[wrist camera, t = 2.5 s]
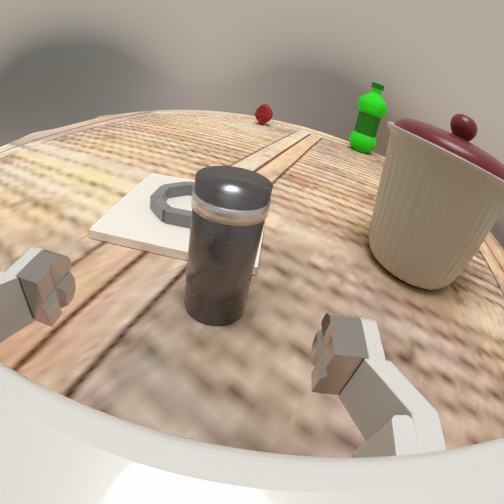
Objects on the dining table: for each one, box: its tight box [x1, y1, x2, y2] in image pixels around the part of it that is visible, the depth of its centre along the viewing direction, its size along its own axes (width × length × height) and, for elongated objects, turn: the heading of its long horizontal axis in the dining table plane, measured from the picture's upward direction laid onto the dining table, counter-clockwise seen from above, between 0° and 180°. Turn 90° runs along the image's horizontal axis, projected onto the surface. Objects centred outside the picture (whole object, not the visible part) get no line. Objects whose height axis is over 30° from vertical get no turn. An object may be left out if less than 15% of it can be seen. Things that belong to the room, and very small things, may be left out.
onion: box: [255, 103, 272, 125], centre depth 98 cm, size 6×6×8 cm
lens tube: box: [185, 166, 273, 326], centre depth 23 cm, size 5×5×11 cm
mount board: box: [89, 173, 265, 276], centre depth 36 cm, size 18×18×2 cm
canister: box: [369, 114, 504, 290], centre depth 32 cm, size 18×18×21 cm
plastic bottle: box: [349, 83, 387, 153], centre depth 91 cm, size 10×10×25 cm
